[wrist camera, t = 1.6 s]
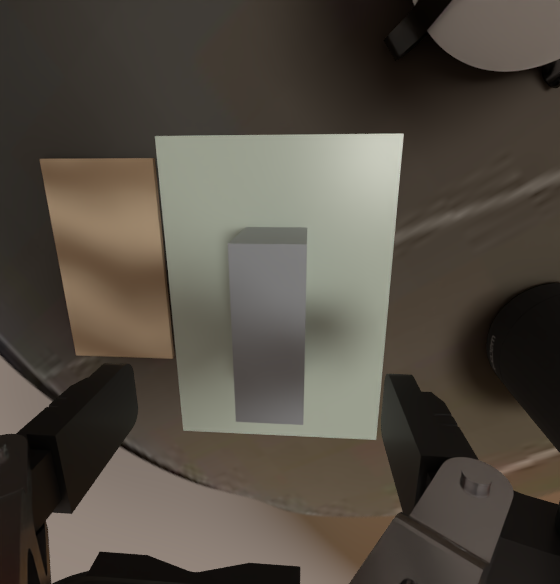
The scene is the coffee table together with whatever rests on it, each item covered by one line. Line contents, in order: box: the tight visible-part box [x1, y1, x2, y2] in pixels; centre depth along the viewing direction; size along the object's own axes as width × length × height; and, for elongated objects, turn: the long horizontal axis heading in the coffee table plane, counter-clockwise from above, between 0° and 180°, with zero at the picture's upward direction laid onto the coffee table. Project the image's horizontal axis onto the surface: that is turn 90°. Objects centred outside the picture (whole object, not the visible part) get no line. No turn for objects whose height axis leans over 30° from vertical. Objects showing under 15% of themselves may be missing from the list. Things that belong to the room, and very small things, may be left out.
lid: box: [155, 134, 404, 440], centre depth 19 cm, size 16×11×7 cm
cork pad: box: [40, 158, 174, 359], centre depth 28 cm, size 15×8×1 cm, turn 0°
